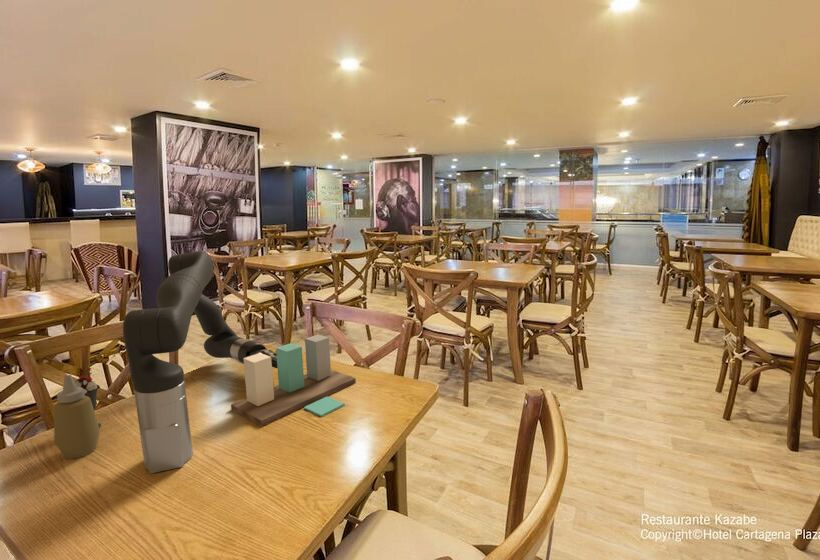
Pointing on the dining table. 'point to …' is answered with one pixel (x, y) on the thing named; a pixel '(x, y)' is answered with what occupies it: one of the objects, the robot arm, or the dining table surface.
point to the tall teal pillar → (290, 367)
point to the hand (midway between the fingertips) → (281, 365)
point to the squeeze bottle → (74, 421)
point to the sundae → (88, 388)
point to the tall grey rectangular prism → (317, 357)
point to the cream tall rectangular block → (258, 379)
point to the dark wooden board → (292, 398)
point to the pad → (324, 406)
